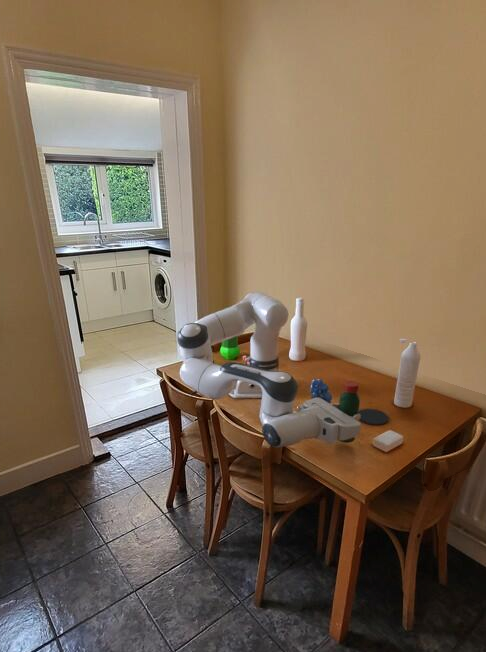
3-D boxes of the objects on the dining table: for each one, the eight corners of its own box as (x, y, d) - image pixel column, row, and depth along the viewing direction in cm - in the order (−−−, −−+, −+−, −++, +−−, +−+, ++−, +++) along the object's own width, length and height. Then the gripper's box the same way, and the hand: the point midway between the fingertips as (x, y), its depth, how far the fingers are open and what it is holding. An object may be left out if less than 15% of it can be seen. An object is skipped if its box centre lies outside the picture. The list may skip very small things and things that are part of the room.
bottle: (306, 361, 198) (310, 300, 186) (289, 361, 199) (292, 300, 186) (304, 355, 206) (307, 296, 193) (288, 355, 206) (290, 296, 193)
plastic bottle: (219, 354, 208) (217, 306, 198) (239, 353, 209) (238, 305, 199) (220, 361, 199) (218, 311, 189) (241, 360, 200) (241, 310, 190)
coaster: (365, 427, 143) (365, 425, 142) (351, 412, 152) (351, 410, 152) (394, 423, 145) (394, 421, 144) (378, 408, 154) (378, 407, 154)
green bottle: (340, 443, 127) (346, 390, 120) (332, 433, 133) (337, 382, 125) (358, 441, 128) (365, 388, 121) (349, 431, 134) (356, 380, 126)
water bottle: (415, 405, 157) (426, 343, 146) (403, 409, 154) (415, 346, 143) (396, 396, 163) (406, 336, 153) (385, 400, 160) (394, 339, 150)
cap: (347, 394, 121) (348, 387, 120) (341, 388, 125) (342, 381, 124) (360, 392, 122) (361, 385, 121) (353, 387, 126) (354, 380, 125)
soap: (388, 436, 137) (389, 428, 136) (403, 443, 133) (404, 435, 132) (371, 445, 132) (372, 437, 131) (386, 453, 128) (387, 445, 127)
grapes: (301, 405, 157) (302, 377, 152) (314, 401, 160) (316, 373, 155) (321, 418, 148) (323, 388, 143) (335, 414, 151) (338, 384, 146)
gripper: (293, 415, 131) (328, 406, 137) (336, 447, 114) (373, 434, 120) (294, 398, 128) (329, 388, 134) (338, 427, 112) (375, 415, 118)
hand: (350, 410), depth 127 cm, fingers closed on green bottle, 6 cm apart
